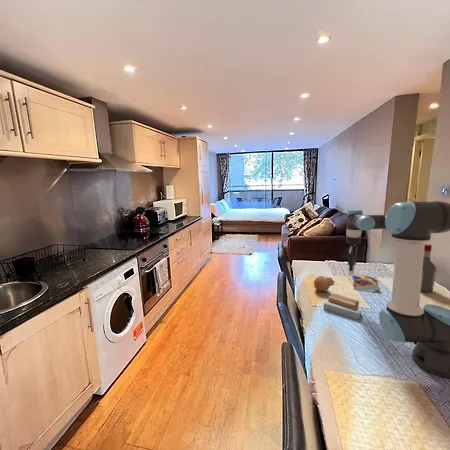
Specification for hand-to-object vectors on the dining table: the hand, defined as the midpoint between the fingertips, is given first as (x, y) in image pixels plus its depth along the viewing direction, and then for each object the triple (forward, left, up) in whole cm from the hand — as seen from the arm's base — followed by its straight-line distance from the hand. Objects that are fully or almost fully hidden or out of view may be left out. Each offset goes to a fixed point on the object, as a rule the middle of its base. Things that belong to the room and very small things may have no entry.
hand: (351, 275), depth 144 cm
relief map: (+33, -2, -18) cm, 37 cm away
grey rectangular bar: (-16, 0, -17) cm, 23 cm away
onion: (+5, +18, -17) cm, 25 cm away
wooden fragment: (+18, +20, -17) cm, 32 cm away
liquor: (+43, -33, -17) cm, 57 cm away
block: (-10, +1, -17) cm, 20 cm away
